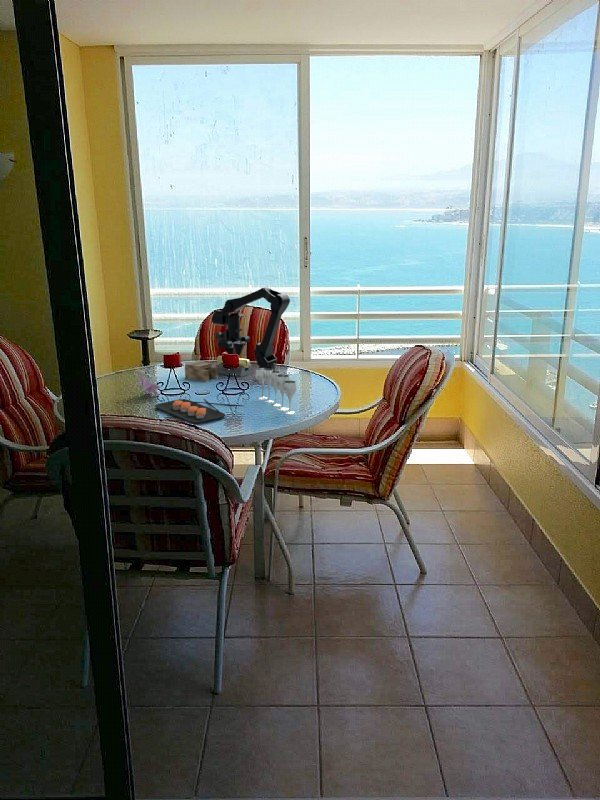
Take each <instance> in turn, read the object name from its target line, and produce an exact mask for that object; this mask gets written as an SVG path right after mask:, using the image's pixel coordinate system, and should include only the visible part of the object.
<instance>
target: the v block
mask: <svg viewBox="0 0 600 800" xmlns="http://www.w3.org/2000/svg"><path fill="white" fill-rule="evenodd" d="M215 367H217V375H224V374H225V375H224V376H229V375H228V374H229V372H230V374H231V375H233V373H235V374H236V376H234V375H233V376H232V377H237V378H238V377H239V378H242V377H245V376H247V375H251V374H253V371H254V368H253V364H251V363H250V366H249V368H245V367H241V366H239V368H237V369H234V370H228V369H224V368H223V364H218V363H216V365H215Z"/></svg>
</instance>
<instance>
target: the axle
mask: <svg viewBox="0 0 600 800" xmlns="http://www.w3.org/2000/svg"><path fill="white" fill-rule="evenodd" d="M222 356H223V355H218V356H217V358H216V364H223V361H222ZM250 364H251V360H250V359H247V358H240V357H239V366H241V367H245V368H249V366H250Z"/></svg>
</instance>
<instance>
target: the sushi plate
mask: <svg viewBox="0 0 600 800" xmlns="http://www.w3.org/2000/svg"><path fill="white" fill-rule="evenodd" d="M203 401H204V402H203ZM203 401H194V400H193V401H192V400H190V399H186V398H185V399H184V398H180V399H174V400H169V401H165V402H160V403H157V404H155V406H154V407H155V408H156V409H159V410H160V411H162V412H164V413H168V414H170V415H173V416H175V417H177V418H179V419H182V420H185V421H187V422H189V423H192V424H200V423H202V424H203V423H205V422H206V423H207V422H210V421H214V420H219V419H222V418H224V417H226V414H225V413H224V412H221V411H220V410H219V409H217V408H216V407H215V406H213V405H218V406H228V407H244V406H243V404H242V405H241V404H230V403H217V402H216V403H215V402H209V401H208V400H206V399H205V398H203ZM204 404H207V405H209V406H211V407H208V406H207V405H204Z"/></svg>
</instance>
